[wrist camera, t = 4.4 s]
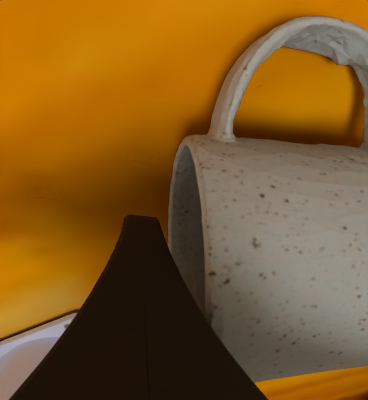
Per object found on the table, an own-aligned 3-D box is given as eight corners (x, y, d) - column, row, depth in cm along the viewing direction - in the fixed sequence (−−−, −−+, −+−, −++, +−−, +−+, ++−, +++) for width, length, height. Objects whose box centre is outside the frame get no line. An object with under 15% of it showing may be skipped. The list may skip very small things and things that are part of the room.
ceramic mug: (322, 250, 17) (423, 415, 11) (165, 253, 16) (177, 436, 10) (424, 20, 11) (789, 99, 5) (179, 2, 10) (233, 70, 4)
